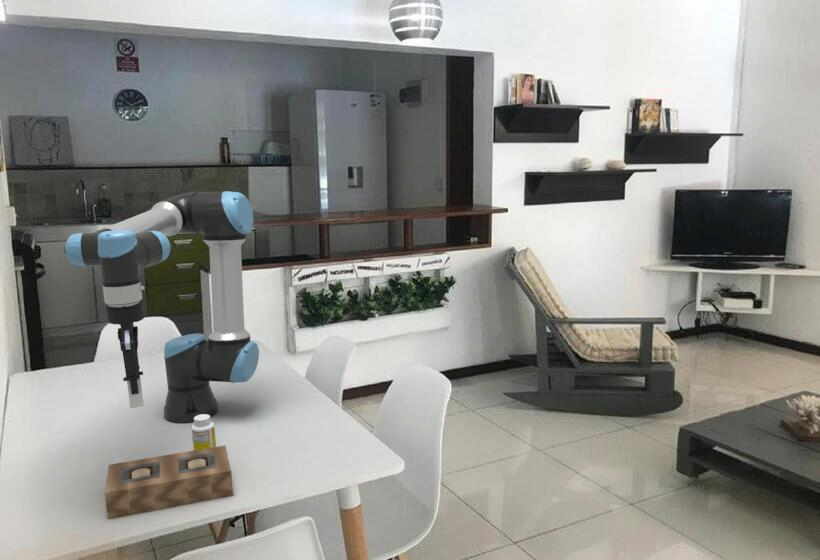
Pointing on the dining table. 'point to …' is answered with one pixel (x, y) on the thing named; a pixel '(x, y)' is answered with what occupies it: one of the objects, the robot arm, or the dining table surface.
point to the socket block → (167, 482)
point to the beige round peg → (140, 473)
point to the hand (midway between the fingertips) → (136, 405)
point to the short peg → (196, 463)
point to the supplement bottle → (203, 432)
